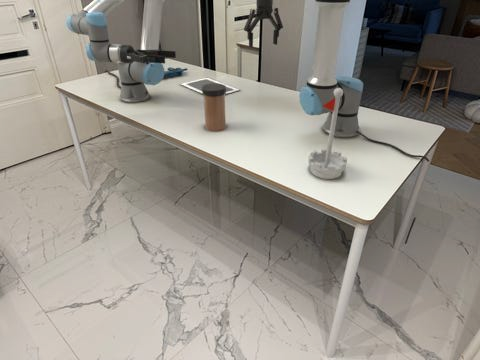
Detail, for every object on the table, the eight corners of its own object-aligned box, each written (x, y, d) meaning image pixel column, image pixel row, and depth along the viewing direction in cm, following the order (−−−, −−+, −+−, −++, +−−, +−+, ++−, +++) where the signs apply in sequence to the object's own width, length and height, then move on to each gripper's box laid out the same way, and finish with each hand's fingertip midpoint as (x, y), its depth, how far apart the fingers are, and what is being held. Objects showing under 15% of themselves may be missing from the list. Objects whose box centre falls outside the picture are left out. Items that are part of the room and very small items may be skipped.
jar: (225, 131, 150) (224, 91, 140) (204, 131, 150) (201, 91, 140) (226, 122, 157) (225, 84, 148) (206, 122, 158) (204, 84, 148)
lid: (225, 96, 141) (224, 90, 139) (201, 96, 141) (200, 90, 140) (226, 88, 149) (226, 83, 148) (203, 88, 149) (203, 83, 148)
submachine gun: (172, 62, 238) (192, 67, 221) (173, 67, 240) (192, 73, 223) (126, 71, 219) (143, 77, 202) (127, 77, 221) (145, 84, 204)
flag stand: (330, 158, 128) (344, 79, 112) (352, 176, 118) (370, 92, 102) (300, 165, 124) (309, 84, 108) (320, 183, 114) (333, 97, 98)
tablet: (180, 84, 205) (180, 83, 205) (207, 78, 216) (207, 77, 216) (211, 98, 184) (211, 97, 184) (240, 90, 196) (240, 89, 195)
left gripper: (136, 58, 159) (179, 61, 156) (110, 68, 137) (160, 72, 135) (134, 41, 155) (178, 43, 153) (107, 48, 133) (158, 52, 131)
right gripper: (283, -6, 163) (280, 41, 174) (236, -3, 154) (237, 46, 166) (292, -4, 157) (288, 44, 169) (243, -2, 148) (243, 49, 160)
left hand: (170, 57), depth 144 cm, fingers open, 13 cm apart
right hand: (263, 45), depth 167 cm, fingers open, 13 cm apart
